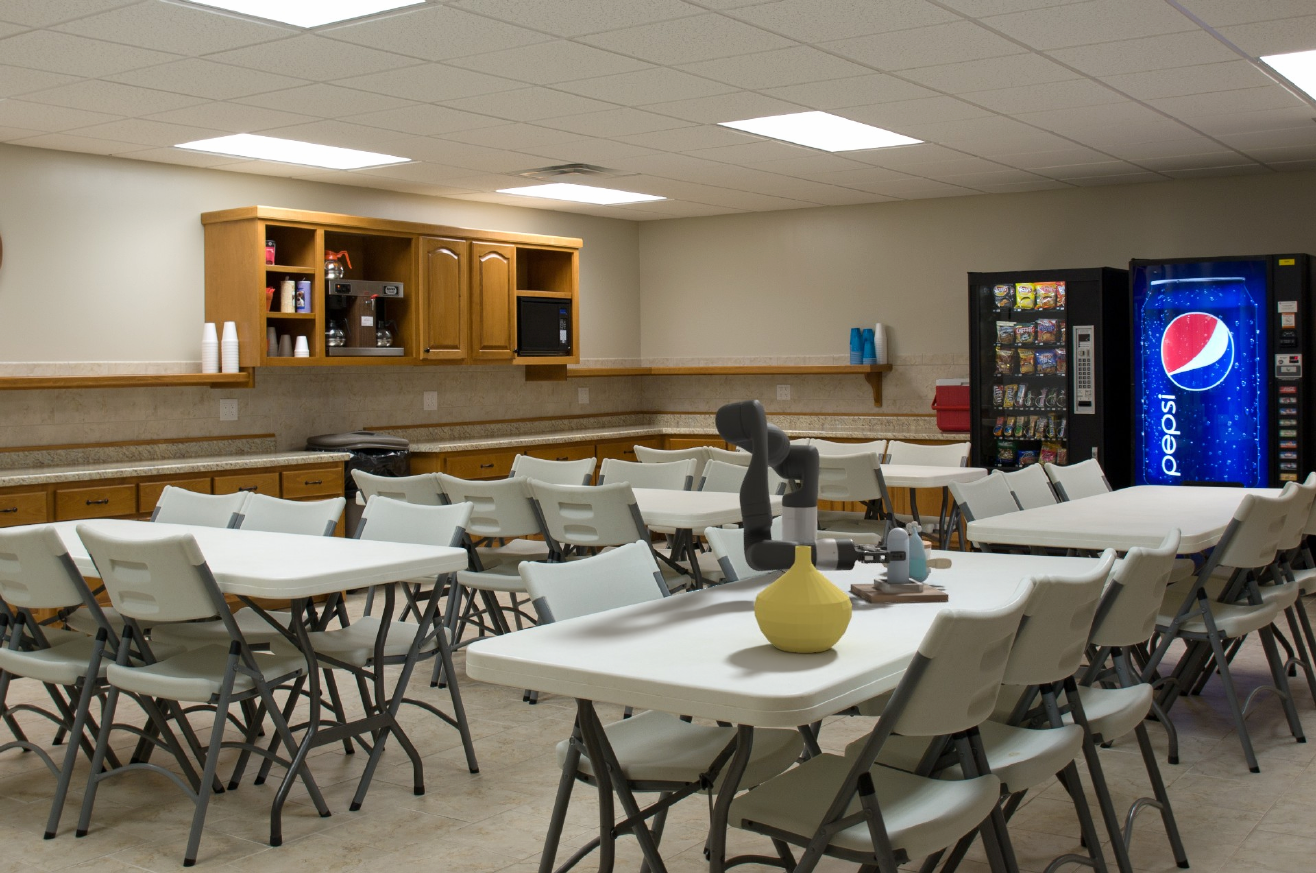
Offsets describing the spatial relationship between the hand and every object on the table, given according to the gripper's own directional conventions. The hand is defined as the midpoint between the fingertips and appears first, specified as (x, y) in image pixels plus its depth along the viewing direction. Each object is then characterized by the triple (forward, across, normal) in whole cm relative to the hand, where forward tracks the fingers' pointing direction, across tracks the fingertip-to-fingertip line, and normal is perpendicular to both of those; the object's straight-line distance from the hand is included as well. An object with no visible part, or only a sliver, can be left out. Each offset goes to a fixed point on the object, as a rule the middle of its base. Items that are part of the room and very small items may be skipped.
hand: (899, 553), depth 291 cm
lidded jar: (+15, +35, +10) cm, 39 cm away
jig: (0, 0, +10) cm, 10 cm away
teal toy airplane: (+10, +17, +10) cm, 22 cm away
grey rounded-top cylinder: (0, 0, +8) cm, 9 cm away
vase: (-36, -52, +10) cm, 64 cm away
